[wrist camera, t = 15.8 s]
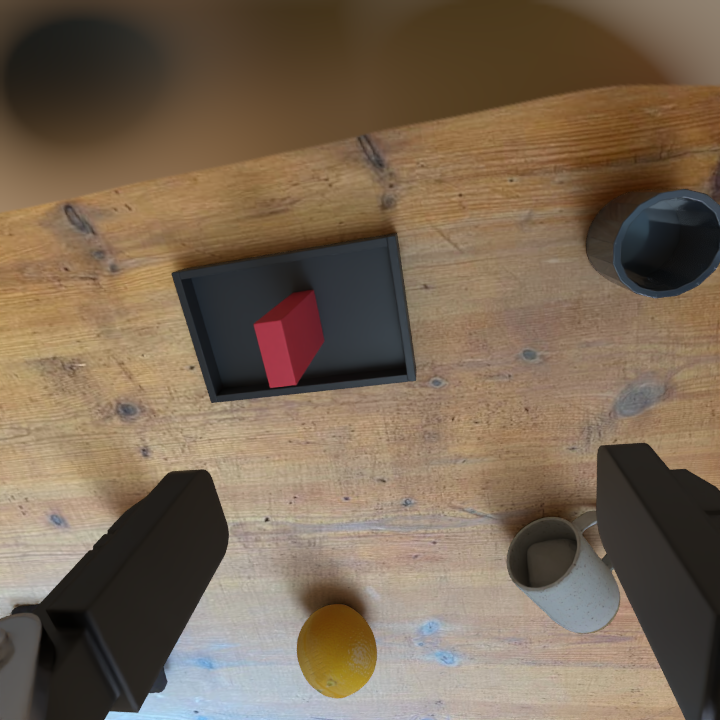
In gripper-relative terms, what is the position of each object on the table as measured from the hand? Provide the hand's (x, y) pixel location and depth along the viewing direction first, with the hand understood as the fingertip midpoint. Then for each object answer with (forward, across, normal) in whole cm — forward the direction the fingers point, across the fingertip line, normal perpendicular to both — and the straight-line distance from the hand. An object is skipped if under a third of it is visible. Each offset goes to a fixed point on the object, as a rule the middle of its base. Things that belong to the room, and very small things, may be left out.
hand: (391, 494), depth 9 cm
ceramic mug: (+31, -11, +30) cm, 44 cm away
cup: (+31, -16, +1) cm, 35 cm away
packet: (+30, +10, +4) cm, 32 cm away
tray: (+31, +11, +4) cm, 33 cm away
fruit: (+30, +14, +40) cm, 52 cm away
